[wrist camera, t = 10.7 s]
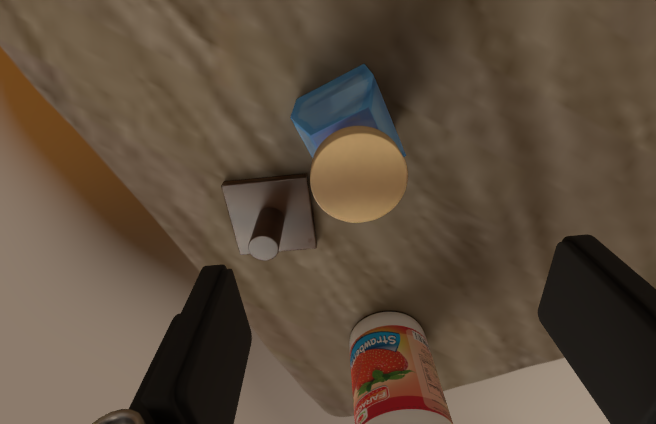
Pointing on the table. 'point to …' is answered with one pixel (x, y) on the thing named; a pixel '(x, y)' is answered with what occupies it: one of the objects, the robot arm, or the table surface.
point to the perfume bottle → (342, 109)
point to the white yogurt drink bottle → (394, 373)
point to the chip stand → (271, 214)
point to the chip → (358, 174)
